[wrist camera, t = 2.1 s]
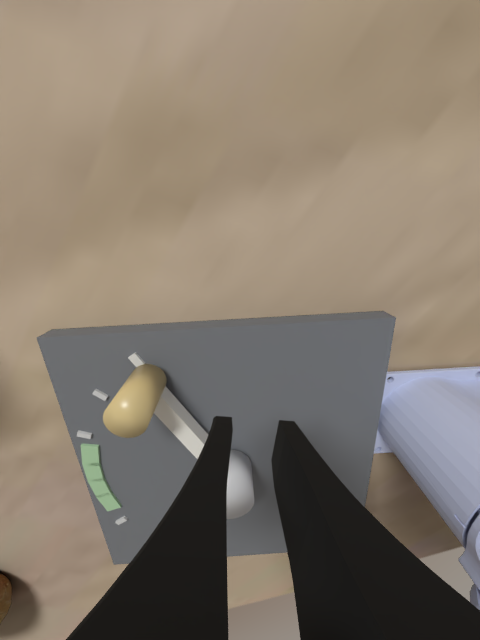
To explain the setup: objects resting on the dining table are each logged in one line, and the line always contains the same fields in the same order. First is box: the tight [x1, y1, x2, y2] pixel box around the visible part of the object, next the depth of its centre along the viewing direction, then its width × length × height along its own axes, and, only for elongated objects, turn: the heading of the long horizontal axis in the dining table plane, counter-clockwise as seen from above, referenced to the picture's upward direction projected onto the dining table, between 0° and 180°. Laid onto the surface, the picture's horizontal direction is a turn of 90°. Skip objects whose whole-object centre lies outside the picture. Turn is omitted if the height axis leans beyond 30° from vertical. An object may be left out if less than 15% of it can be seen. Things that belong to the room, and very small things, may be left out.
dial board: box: [37, 311, 396, 564], centre depth 21 cm, size 24×24×2 cm
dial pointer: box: [103, 364, 254, 519], centre depth 17 cm, size 13×4×4 cm, turn 33°
